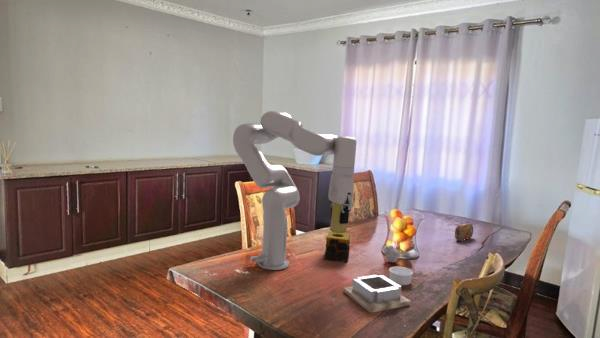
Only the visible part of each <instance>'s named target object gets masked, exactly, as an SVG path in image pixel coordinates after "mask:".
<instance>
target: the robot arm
mask: <svg viewBox="0 0 600 338" xmlns="http://www.w3.org/2000/svg"><path fill="white" fill-rule="evenodd" d="M259 121H260V123H257V122H256V123H254V122H253V123H252V122H251V123H250V122H247V123H242V124H240V125H237V127H236V128H235V129H234V132H233V135H232V143H233V147H234V149H235V152H236V153H237V155H238V156H239V158H240V159H241V161H242V163H243V164H244V165H245V168H246V169H247V172H248V173H249V175H250V176H251V179H252V180H253V183H254V184H255V185H256V187H258V188H260V189H268V190H266V191H265V192H264V193H263V196H262V199H261V205H262V210H263V211H262V212H263V225H262V226H263V227H262V228H263V229H262V230H263V233H262V251H261V252H259V254H257V256H255V255H254V256H253V255H252V256H250V259H249V260H250V262H255V264H256V263H257V265H258V266H259V267H260V268H261V269H265V270H268V271H279V270H281V271H282V270H284V269H287V268H289V266H290V261H289V260H288V259H286V256H287V237H288V217H287V214H286V210H288V209H292V208H295V207H297V206H298V204H299V203H300V199H301V196H300V192H299V189H298V188H297V186H296V184H295V183H294V181H293V179H292V177H291V175H290V174H289V172H288V170H287V169H286V168H285V167H284V166H283V165H281V164H278V163H269V162H268V161H267V159H266V157H265V155H264V154H263V153H262V151H261V150H260V149H259V148H258V147H257V146H255V145H259V144H260V145H261V144H262V145H263V144H268V143H270V142H272V141H274V140H275V139H277V138H281V139H283V140H285V141H287V142H289V143H291V145H293V146H294V147H295V148H297V149H299V150H301V151H302V152H305V153H308V154H310V155H313V156H318V157H321V156H330V155H331V156H333V163H332V174H331V176H330V181H329V186H328V187H329V188H328V193H327V194H328V195H327V198H328V200H329V203H330V217H329V218H330V219H331V217H332V209H333V202H335V203H337V204H339V205H341V210H342V212H341V213H340V224H347V225H348V224H349V218H350V217H349V215H350V213H351V210H352V209H353V208H354V201H353V199H354V190H355V189H354V185H355V184H354V176H355V175H354V173H355V163H356V151H357V139H356V138H355V137H354V136H353V137H352V136H344V135H342V136H341V135H340V136H339V135H336V134H331V133H321V134H320V133H316V132H313V131H310V130H309V129H308V130H307V128H304V127H303V123H302V122H301V121H300V120H298V119H295V118H292V116H291V114H289V113H287V112H285V111H275V110H272V111H271V110H270V111H267V112H264V113H263V115H262V116H261V117H260V120H259ZM269 188H270V189H269ZM345 202H347V204H344V203H345ZM344 206H346V207H345V209H344Z"/></svg>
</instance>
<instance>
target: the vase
mask: <svg viewBox="0 0 600 338" xmlns="http://www.w3.org/2000/svg"><path fill="white" fill-rule="evenodd" d="M344 204H347V202H345V203H344ZM345 207H346V206H344V209H345ZM341 212H342V210H341V205H339V204H337V203H335V202H333V209H332V217H331V216H330V217H331V218H330V227H329V230H330V231H329V232H334V233H347V228H348V223H347V224H340V213H341Z"/></svg>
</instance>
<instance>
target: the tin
mask: <svg viewBox="0 0 600 338" xmlns="http://www.w3.org/2000/svg"><path fill="white" fill-rule="evenodd" d="M473 233H474V226H473V224H472V223H466V222H465V223H462V224H459V225H457V226H456V227H455V230H454V238H455V240H456V241H458V242H459V241H460V242H463V241H462V240H464V239H467V238H470V239H471V238H472V237H473V235H474V234H473Z"/></svg>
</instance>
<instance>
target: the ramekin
mask: <svg viewBox="0 0 600 338" xmlns="http://www.w3.org/2000/svg"><path fill="white" fill-rule="evenodd" d="M388 273H389V279H390V280H392V281H393V282H395V283H396V284H398V285H400V286H408V285H410V284H411V283H412V278H413V274H414V272H413V270H412V269H410V268H409V267H404V266H391V267H389V269H388Z"/></svg>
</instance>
